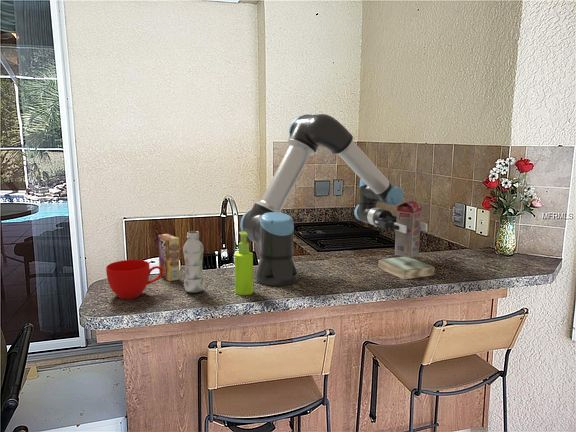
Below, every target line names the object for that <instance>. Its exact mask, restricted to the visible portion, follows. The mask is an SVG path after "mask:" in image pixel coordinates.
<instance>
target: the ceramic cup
mask: <svg viewBox="0 0 576 432" xmlns="http://www.w3.org/2000/svg"><path fill="white" fill-rule="evenodd" d="M157 269H158V270H159V269H160V274H159V275H158V276H157V277H155V278H153V279H152V280H149V279H150V275H151V273H152V271H153V270H157ZM105 270H106V278H107V281H108V285H109V287H110V289H111V291H112V292H113V293H114V294H115V295H116V296H117V297H118V298H120V299H124V300H129V299H135V298H138V297H140V296H141V295H142V293H143V292H144V291H145V289H146V288H147V286H148V285H150V284H152V283H155V282H156V281H158V280H159V279H160V278H161V275H162V268H161V267H159V265H156V266H152V267H150V263H149V262H148V261H145V260H141V259H124V260H119V261H115V262H112V263H109V264H108V265H106V268H105Z"/></svg>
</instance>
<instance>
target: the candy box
mask: <svg viewBox="0 0 576 432" xmlns="http://www.w3.org/2000/svg"><path fill="white" fill-rule="evenodd" d="M157 236H158V238H157V239H158V266H159V267H161V268H162V275H161V277H162V278H163V279H165V280H167V281H168V282H173V281H178V280H180V278H181V277H180V275H181V274H180V271H181V270H180V237H177V236H175V235H172V234H169V233H164V234H163V233H162V234H158V235H157ZM158 270H159V271H158V272H159V274H160V269H158ZM161 277H160V278H161Z"/></svg>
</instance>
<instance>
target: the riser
mask: <svg viewBox="0 0 576 432" xmlns="http://www.w3.org/2000/svg"><path fill="white" fill-rule="evenodd" d="M377 264H378V266H377V267H378V269H381V270H383V271H385V272H386V273H389V274H392V275H393V276H396V277H398V278H400V279H402V280H408V279H415V278H417V279H418V278H423V277H429V276H430V277H431V276H434V275H435V269H436V268H435V266H433V265H431V264H428V263H425V262H424V261H420V260H418V259H415V258H414V257H411V258H410V257H405V256H397V257H391V258H390V257H389V258H381V259H379V260H378V263H377Z"/></svg>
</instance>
